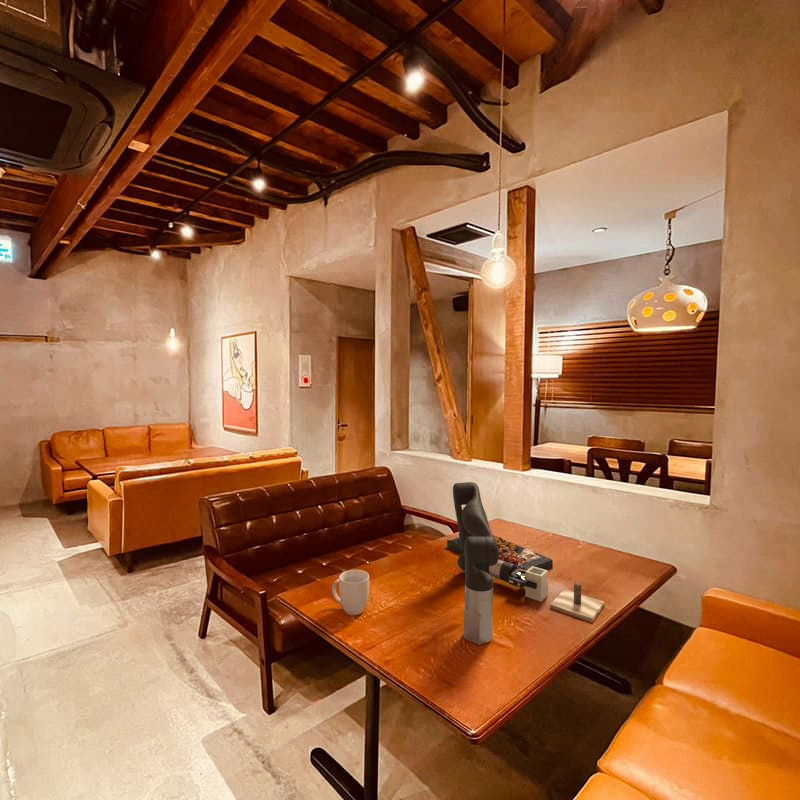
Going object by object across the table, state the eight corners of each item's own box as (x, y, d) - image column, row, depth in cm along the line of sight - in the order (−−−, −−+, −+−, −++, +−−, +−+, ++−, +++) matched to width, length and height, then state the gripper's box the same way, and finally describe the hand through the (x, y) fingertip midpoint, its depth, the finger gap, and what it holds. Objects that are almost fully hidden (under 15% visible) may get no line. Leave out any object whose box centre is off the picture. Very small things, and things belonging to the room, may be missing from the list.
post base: (592, 622, 152) (592, 598, 152) (549, 608, 162) (550, 585, 161) (604, 605, 163) (604, 583, 163) (564, 592, 173) (564, 572, 173)
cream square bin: (541, 601, 166) (541, 576, 166) (525, 596, 170) (525, 571, 170) (547, 595, 171) (548, 570, 171) (532, 590, 175) (532, 566, 175)
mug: (324, 612, 159) (324, 577, 158) (340, 598, 169) (340, 565, 168) (360, 621, 153) (360, 585, 152) (374, 606, 163) (374, 572, 162)
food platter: (552, 569, 196) (552, 546, 196) (515, 583, 183) (515, 559, 182) (482, 538, 234) (482, 519, 233) (446, 548, 220) (447, 528, 220)
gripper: (494, 567, 174) (533, 579, 164) (510, 556, 185) (548, 566, 175) (494, 585, 174) (533, 598, 164) (510, 573, 185) (547, 585, 175)
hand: (540, 582), depth 169 cm, fingers open, 8 cm apart
